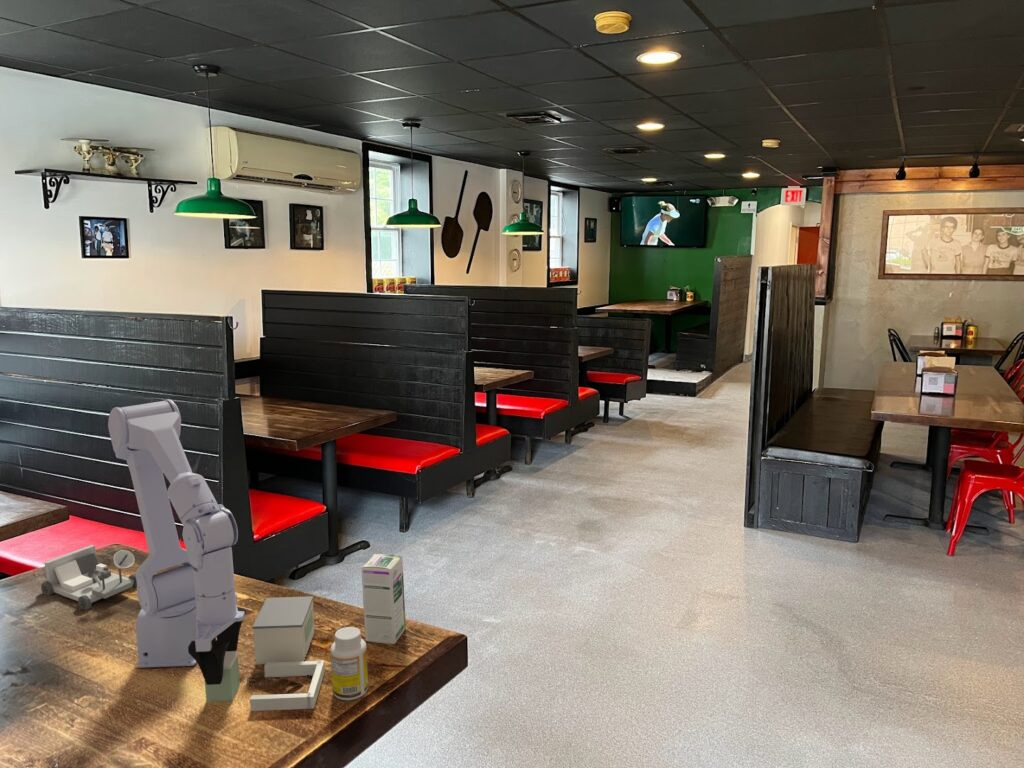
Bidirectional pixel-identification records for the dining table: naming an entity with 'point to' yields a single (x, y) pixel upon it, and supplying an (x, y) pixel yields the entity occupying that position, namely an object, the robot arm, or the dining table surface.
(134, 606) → the dining table surface
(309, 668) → the dock
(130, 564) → the toy car
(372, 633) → the syrup box
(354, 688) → the supplement bottle
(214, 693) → the block
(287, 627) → the box
